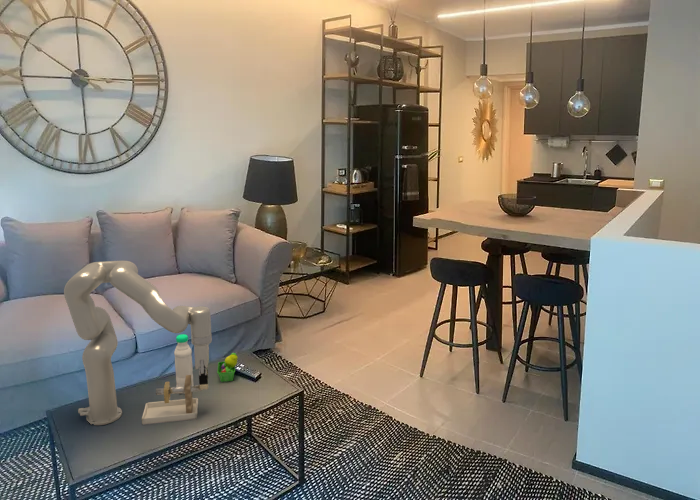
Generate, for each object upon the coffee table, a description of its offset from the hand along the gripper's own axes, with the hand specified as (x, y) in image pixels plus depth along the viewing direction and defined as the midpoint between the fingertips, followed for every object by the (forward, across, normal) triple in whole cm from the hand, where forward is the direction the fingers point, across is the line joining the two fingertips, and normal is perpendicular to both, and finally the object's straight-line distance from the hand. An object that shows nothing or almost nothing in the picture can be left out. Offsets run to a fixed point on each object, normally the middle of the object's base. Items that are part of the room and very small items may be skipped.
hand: (203, 381), depth 211 cm
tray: (+13, 0, -13) cm, 18 cm away
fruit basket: (+13, -28, +9) cm, 32 cm away
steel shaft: (+4, 0, -8) cm, 9 cm away
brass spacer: (+6, 0, -14) cm, 15 cm away
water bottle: (+13, -18, -9) cm, 24 cm away
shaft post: (+13, 0, -6) cm, 14 cm away
